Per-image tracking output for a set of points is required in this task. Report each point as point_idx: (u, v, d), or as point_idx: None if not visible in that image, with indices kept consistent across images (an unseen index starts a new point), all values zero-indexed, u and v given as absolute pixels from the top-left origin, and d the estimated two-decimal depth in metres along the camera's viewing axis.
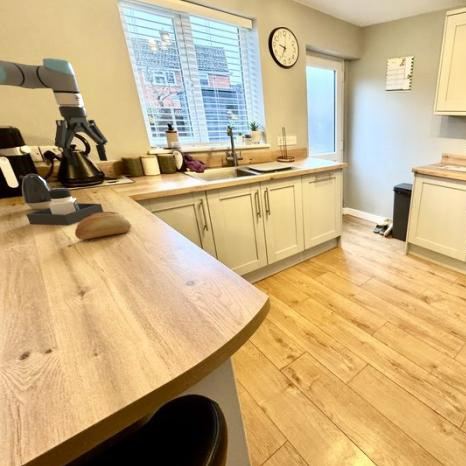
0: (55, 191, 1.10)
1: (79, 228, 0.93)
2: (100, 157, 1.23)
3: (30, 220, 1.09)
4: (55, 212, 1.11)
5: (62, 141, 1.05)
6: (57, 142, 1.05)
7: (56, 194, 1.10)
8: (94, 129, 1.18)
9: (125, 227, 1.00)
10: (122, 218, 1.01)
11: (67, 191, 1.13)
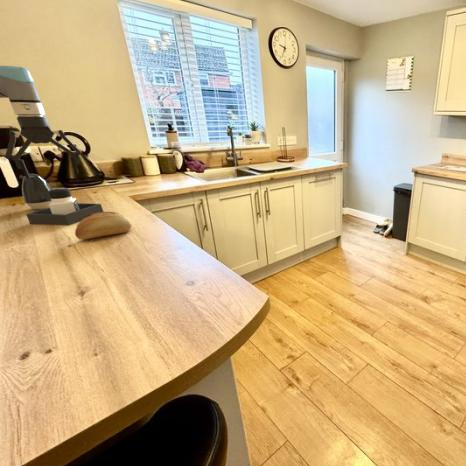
0: (55, 191, 1.10)
1: (79, 228, 0.93)
2: None
3: (30, 220, 1.09)
4: (55, 212, 1.11)
5: (8, 153, 1.00)
6: None
7: (56, 194, 1.10)
8: (64, 140, 1.09)
9: (125, 227, 1.00)
10: (122, 218, 1.01)
11: (67, 191, 1.13)
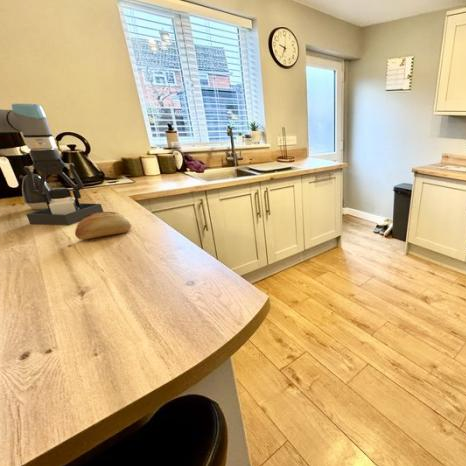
0: (55, 191, 1.10)
1: (79, 228, 0.93)
2: (76, 202, 1.17)
3: (30, 220, 1.09)
4: (55, 212, 1.11)
5: (32, 189, 1.07)
6: None
7: (56, 194, 1.10)
8: None
9: (125, 227, 1.00)
10: (122, 218, 1.01)
11: (67, 191, 1.13)
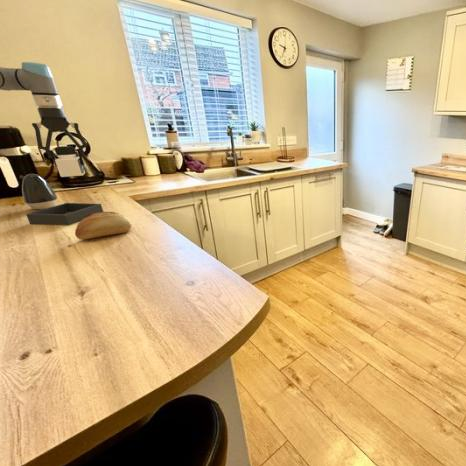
0: (61, 147, 1.18)
1: (79, 228, 0.93)
2: None
3: (30, 220, 1.09)
4: (61, 168, 1.19)
5: (39, 144, 1.15)
6: (38, 145, 1.16)
7: (62, 150, 1.18)
8: (76, 132, 1.21)
9: (125, 227, 1.00)
10: (122, 218, 1.01)
11: (72, 149, 1.21)
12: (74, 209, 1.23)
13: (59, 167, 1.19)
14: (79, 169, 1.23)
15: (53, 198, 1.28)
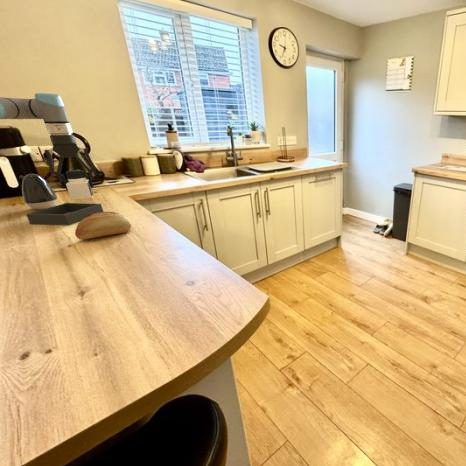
0: (71, 172, 1.24)
1: (79, 228, 0.93)
2: (90, 183, 1.31)
3: (30, 220, 1.09)
4: (71, 191, 1.25)
5: (51, 169, 1.20)
6: (50, 170, 1.21)
7: (72, 175, 1.24)
8: None
9: (125, 227, 1.00)
10: (122, 218, 1.01)
11: (82, 172, 1.26)
12: (74, 209, 1.23)
13: (70, 190, 1.24)
14: (89, 192, 1.28)
15: (53, 198, 1.28)
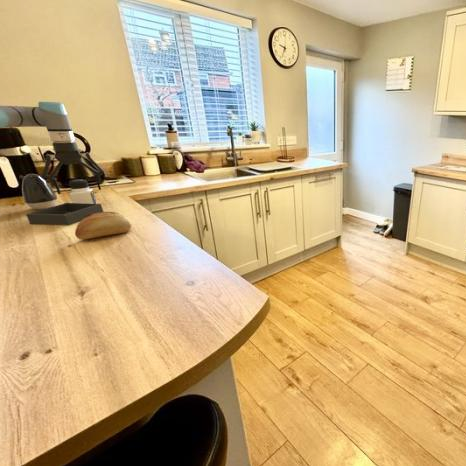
0: (75, 182, 1.25)
1: (79, 228, 0.93)
2: None
3: (30, 220, 1.09)
4: (75, 201, 1.26)
5: (44, 173, 1.19)
6: None
7: (76, 184, 1.25)
8: (90, 161, 1.28)
9: (125, 227, 1.00)
10: (122, 218, 1.01)
11: (85, 182, 1.28)
12: (74, 209, 1.23)
13: (73, 200, 1.26)
14: (92, 201, 1.30)
15: (53, 198, 1.28)
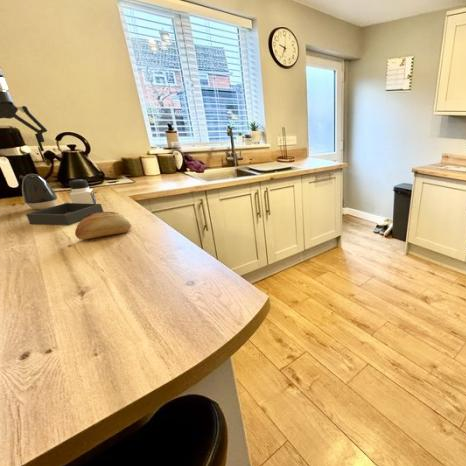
0: (75, 182, 1.25)
1: (79, 228, 0.93)
2: None
3: (30, 220, 1.09)
4: (75, 201, 1.26)
5: None
6: None
7: (76, 184, 1.25)
8: (28, 116, 1.09)
9: (125, 227, 1.00)
10: (122, 218, 1.01)
11: (85, 182, 1.28)
12: (74, 209, 1.23)
13: (73, 200, 1.26)
14: (92, 201, 1.30)
15: (53, 198, 1.28)
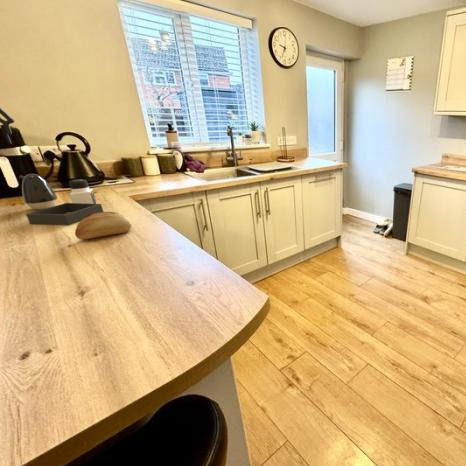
0: (75, 182, 1.25)
1: (79, 228, 0.93)
2: None
3: (30, 220, 1.09)
4: (75, 201, 1.26)
5: None
6: None
7: (76, 184, 1.25)
8: None
9: (125, 227, 1.00)
10: (122, 218, 1.01)
11: (85, 182, 1.28)
12: (74, 209, 1.23)
13: (73, 200, 1.26)
14: (92, 201, 1.30)
15: (53, 198, 1.28)
